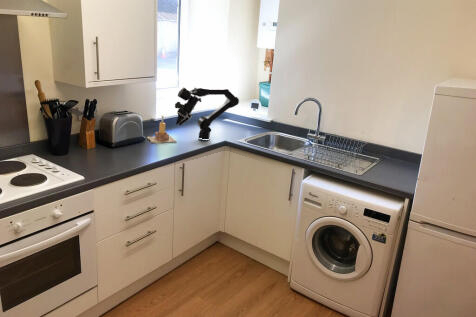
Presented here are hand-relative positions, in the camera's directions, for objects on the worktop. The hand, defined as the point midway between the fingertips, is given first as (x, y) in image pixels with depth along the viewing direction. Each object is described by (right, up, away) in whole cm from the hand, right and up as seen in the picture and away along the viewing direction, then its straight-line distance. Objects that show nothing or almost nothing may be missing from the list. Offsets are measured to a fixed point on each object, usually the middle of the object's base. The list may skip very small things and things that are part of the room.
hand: (178, 124), depth 260 cm
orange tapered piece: (-10, -9, -2) cm, 14 cm away
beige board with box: (-10, -10, -2) cm, 15 cm away
